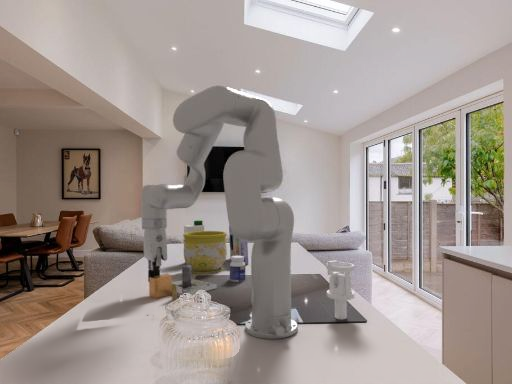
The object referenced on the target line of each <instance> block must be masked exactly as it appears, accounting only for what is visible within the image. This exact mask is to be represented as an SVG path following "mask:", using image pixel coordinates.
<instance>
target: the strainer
mask: <svg viewBox="0 0 512 384" xmlns="http://www.w3.org/2000/svg"><path fill="white" fill-rule="evenodd" d="M326 269H327V276H329V289H328V290H326V297H327V298H329V299H332V300H334V318H335V319H337V320H346V319H347V318H348V317H347V313H348V311H347V307H348V306H347V301H350V300H351V301H352V300H354V299H355V291H353V290H352V274H351V272H352V271H355V264H353V263H350V262H344V261H343V262H342V261H339V260H336V259H333V260H327V263H326Z"/></svg>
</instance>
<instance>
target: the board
mask: <svg viewBox="0 0 512 384" xmlns="http://www.w3.org/2000/svg"><path fill="white" fill-rule="evenodd" d="M191 279H192V274H191V266H190V265H187V264H186V265H182V266H181V280H182V287H183V288H188V287H191ZM171 300H172V301H177V300H178V296H177V284H172V297H171Z"/></svg>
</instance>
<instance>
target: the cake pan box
mask: <svg viewBox="0 0 512 384" xmlns="http://www.w3.org/2000/svg"><path fill="white" fill-rule="evenodd" d="M228 234H229V248H230V250H229V251H230V252H229V254H230V260H231V256H244V260H243V262H244V263H245V265H249V249H248V248H249V247H248V241H243V240H240V239H239V238H237V237H236V236H235V235H234V234H233V232H232V230H231V228H230V225H228Z"/></svg>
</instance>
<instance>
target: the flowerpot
mask: <svg viewBox="0 0 512 384" xmlns="http://www.w3.org/2000/svg"><path fill="white" fill-rule="evenodd" d="M227 235H228V234H227V232H226V231H223V230H222V231H220V230H204V231H196V232H187V233H184V232H183V234H182V236H183V238H184V237H185V240H184V239H183V257H184V258H183V259H184V263H185V262H186V263H185V264H186V265H190V266H191V275H198V274H199V275H200V274H210V273H212V274H213V273H221V271H223V267H222V266H223V265H224V264H225V261H226V259H227V254H228V250H227V242H226V241H227V238H226V236H227ZM184 242H185V244H184Z"/></svg>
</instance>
